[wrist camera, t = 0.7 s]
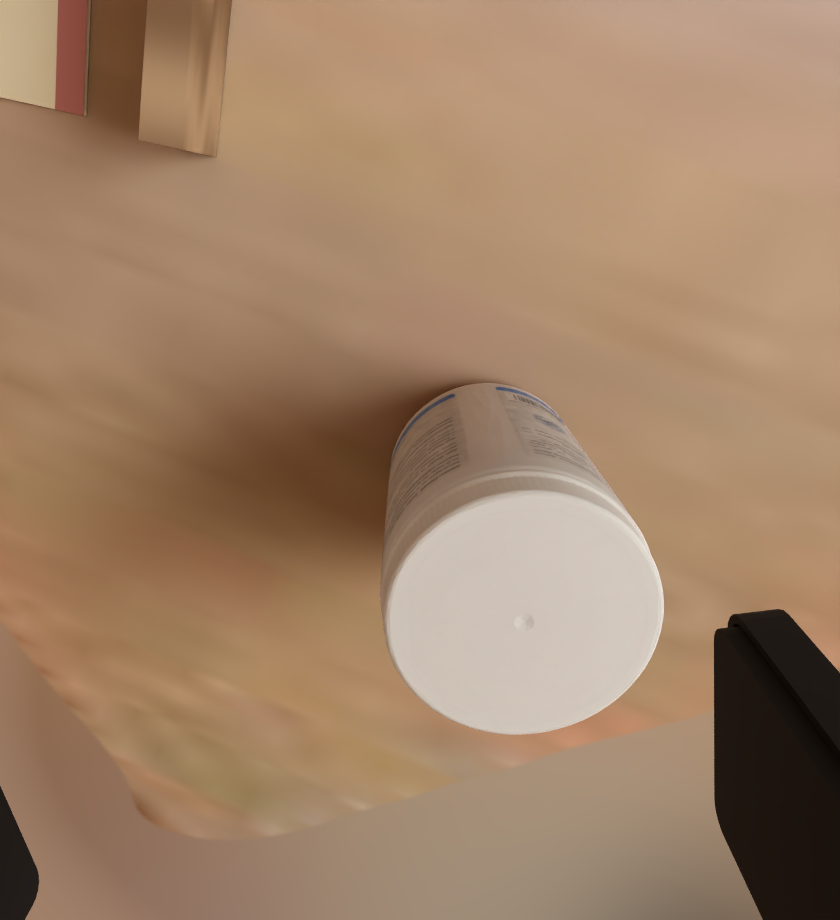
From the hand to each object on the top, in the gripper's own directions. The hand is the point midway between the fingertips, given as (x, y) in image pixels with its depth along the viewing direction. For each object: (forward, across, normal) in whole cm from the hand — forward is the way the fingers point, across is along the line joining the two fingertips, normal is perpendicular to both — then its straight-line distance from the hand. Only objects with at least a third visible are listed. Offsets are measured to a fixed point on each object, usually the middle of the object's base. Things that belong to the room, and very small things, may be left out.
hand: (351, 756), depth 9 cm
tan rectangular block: (+28, +6, -14) cm, 32 cm away
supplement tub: (+28, -3, +7) cm, 29 cm away
